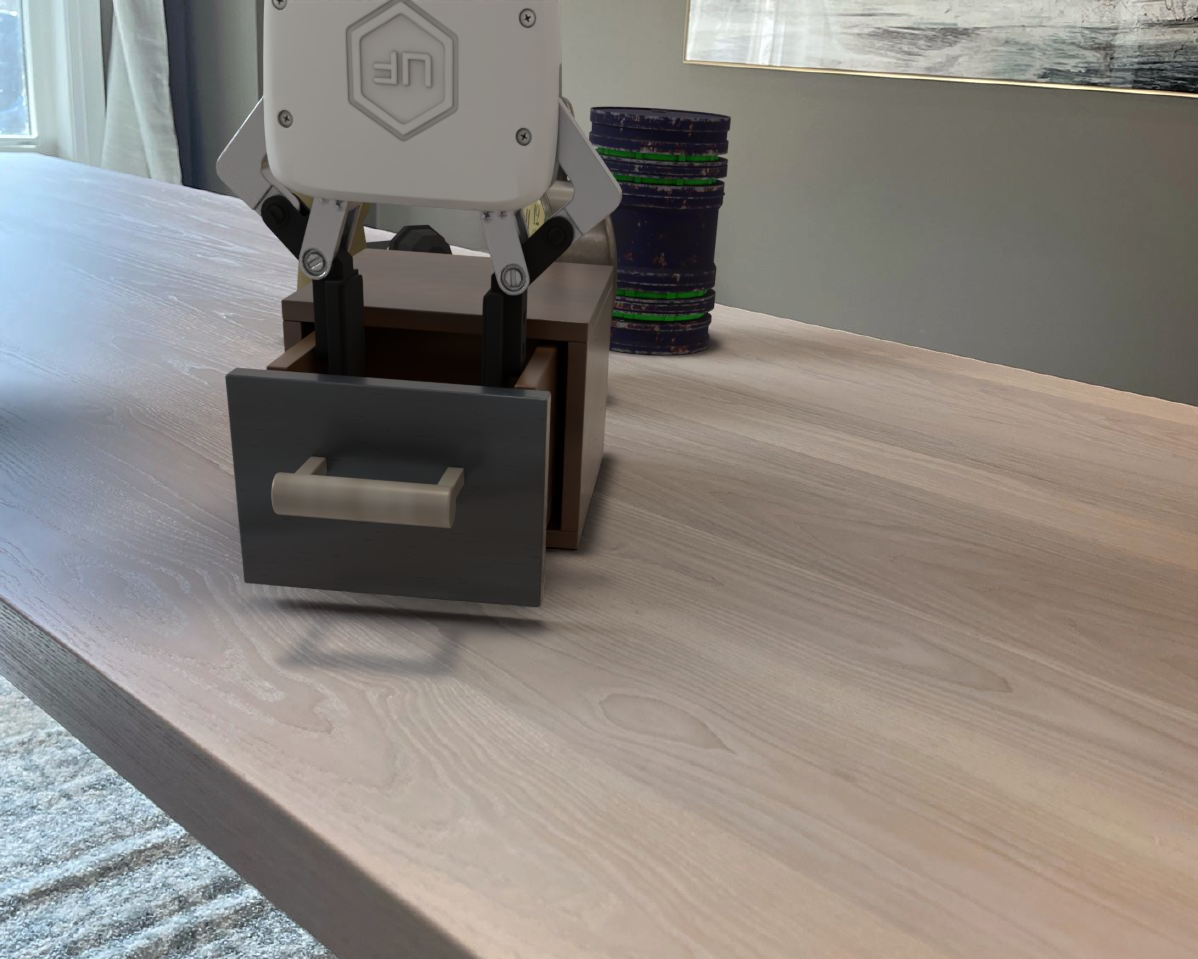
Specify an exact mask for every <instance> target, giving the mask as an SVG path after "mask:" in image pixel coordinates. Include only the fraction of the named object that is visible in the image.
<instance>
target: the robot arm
mask: <svg viewBox="0 0 1198 959" xmlns="http://www.w3.org/2000/svg"><path fill="white" fill-rule="evenodd" d="M263 3H264V4H263V40H262V41H263V42H262V46H263V47H262V49H263V50H262V52H263V53H262V58H263V59H262V60H263V62H262V63H263V64H262V65H263V67H262V68H263V71H262V73H263V74H262V75H263V78H262V79H263V81H262V82H263V86H262V87H263V89H262V90H263V92H262V93H263V95H262V97H261V98H260V99H259V100H258V102H257V103H256V104H255V106H254V108H253V109H252V110H251V112H250V113H249V115H248V116H247V118H246V119H245V120H244V121H243V123H242V124H241V126H240V127H239V128H238V130H237V132H235V134H234V135H233V137H232V138H231V140H230V141H229V142H228V144H227V145H226V146H225V148H224V149H223V151H222V152H221V153H220V155H219V156H218V157H217V159H216V162H215V172H216V175H217V177H218V178H219V179H220V181H221V182H223V183H224V185H225V186H227V187H228V188H229V189H230V190H231V192H233V193H234V194H235V195H236V196H237V197H238V198H239V199H240V200H241V201H242V202H243V203H244V204H246V206H247V207H248V208H250V209H251V210H252V211H254V212H255V213H256V214H258V215H259V216H260V217H261V220H262V222H263V224H264V225H265V226H266V227H267V228H268V230H270V232H271V233H272V234H273V235H274V237H276V238H277V239H278V240H279V241H280V243H281V244H282V245H283V246H284V247H285V248H286V249H287V250H288V251H289V252H290V253H291V255H293V256H294V258H295V259H296V260H297V262H298V263H299V265H300V268H301V270H302V272H303V273H304V274H305V275H306V276H307V277H309V278H310V279H312V287H313V306H314V325H315V344H316V354H317V358H318V360H319V361H328V362H329V375H341V376H354V377H361V376H362V375H363V374H364V373H365V369H366V354H365V324H364V295H363V277H362V275H360V274H359V272H358V269H353V257H352V256H351V254H350V253H349V252H350V248H351V245H352V241H353V237H354V234H355V230H356V226H357V223H358V219H359V215H360V211H361V208H362V204H363V202H368V203H371V204H380V205H382V204H383V205H394V206H407V207H419V208H420V207H421V208H432V209H448V210H460V211H473V212H475V211H477V215H478V219H479V222H480V225H481V228H482V233H483V235H484V240H485V243H486V247H487V250H488V253H489V257H491V261H492V264H493V268H494V271H495V272H494V273H493V274H492V275H491V288H490V289H489V291H488V292H487V293H486V294H485V295H484V297H483V310H482V381H481V386H485V387H499V388H509V384H510V376H512V377H520V376H521V374H522V372H523V371H524V369H525V357H526V326H527V294H528V286H529V285H530V284H532V283H533V282H534V281H535V280H536V279H537V278H538V277H539V276H540V275H541V274H542V273H543V272H544V271H545V270H546V269H547V268H548V267H549V266H550V265H551V264H552V263H554V262H555V261H556V260H557V259H558V258H559V257H560V256H561V255H562V254H563V253H564V252H565V251H566V250H567V249H568V248H569V247H570V246H571V245H572V244H574V243H575V242H576V241H577V240H579V239H580V238H581V237H582V236H584V235H585V234H586V233H587V232H589V231H590V230H591V229H592V228H594V227H595V226H596V225H597V224H599V223H600V222H601V221H602V220H603V219H605V218H606V217H607V216H608V215H610V214H611V213H612V212H613V211H614V210H615V209H616V208H617V207H618V206H619V204H620V202H621V199H622V190H621V187H620V185H619V184H618V182H617V181H616V179H615V178H614V176H613V175H612V173H611V172H610V170H609V169H608V167H607V166H606V164H605V163H604V161H603V160H602V159H601V157H600V156H599V154H598V153H597V151H596V150H595V149H596V148H595V146H593V145H592V144H591V142H590V141H589V137H588V136H587V134H586V133H585V131H584V130H583V129H582V127H581V125H580V124H579V122H577V119H576V117H575V118H574V117H573V115H572V114H571V112H570V111H569V110H568V108H567V107H566V105H565V104H564V102H563V101H562V96H563V59H562V58H563V57H562V56H563V55H562V53H563V52H562V49H563V48H562V46H563V45H562V9H561V8H562V7H561V0H263ZM559 164H560V166H561V167H562V169H563V170H564V172H565V173H566V175H567V179H568V180H571V182H572V184H573V187H574V194H573V198H572V199H571V200H570V201H569V202H568V203H567V204H565V205H564V206H563V207H562V208H561V209H559V210H558V211H557V212H556V213H555V214H553V215H552V216H551V217H550V218H549V219H548V220H547V221H546V222H545V223H544V224H542V225H541V226H540V227H539V228H538V229H537V230H536V231H535V232H534V233H533V234H532V235H531V236H530V234H529V230H528V226H527V222H526V219H525V215H524V211H523V208H524V207H526V206H529V205H531V204H533V203H534V202H536V201H537V200H539V199H540V198H541V197H542V195H543V194H544V193H545V192H547V191H548V189H549V188H550V187H552V185H553V184H554V182H555V180H556V177H557V173H558V168H559ZM291 190H293V191H295V192H297V193H300V194H303V195H307V196H311V197H314V200H313V204H312V208H311V210H310V209H309V208H308V207H307V205H306V204H305V203H304V202H303V201H302V200H301V199H300V198H299V197H298V196H297V195H296V194H294V193H292V192H291Z"/></svg>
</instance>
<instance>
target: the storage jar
mask: <svg viewBox="0 0 1198 959" xmlns="http://www.w3.org/2000/svg"><path fill="white" fill-rule="evenodd" d="M589 110H590V111H589V121H590V123H591V129H590V130H591V131H589V133H588V139H589V141H590V142H591V144H592V145H593V147H594V148H595V147H596V148H595V150H596V151H597V153H598V154H599V156H600V157H601V159H602V160H603V161H604V163H605V164H606V166H607V167H608V169H609V170H610V172H611V173H612V175H613V176H614V178H615V179H616V181H617V182H618V184H619V185H620V187H621V190H622V199H621V202H620V204H619V206H618V207H617V208H616V209H615V210H614V211H613V212H612V213H611V214H610V217H611V220H612V224H613V229H614V234H615V241H616V251H617V292H616V297H615V304H614V310H613V315H612V320H611V327H610V345H609V351H615V352H621V353H628V354H639V355H653V356H654V355H655V356H657V355H658V356H660V355H663V356H664V355H665V356H667V355H668V356H671V355H672V356H673V355H686V354H693V353H698V352H701V351H704V350H706V349H708V348H709V347H710V341H711V336H710V333H709V330H710V328H709V327H710V325H711V323H712V319H713V316H712V314H711V313H710V312H712V311H714V309H715V303H716V290H715V289H713V288H714V287H715V286H716V277H717V265H716V263H715V256H716V244H717V234H718V224H719V214H720V213H719V211H720V209H721V207H722V206H723V205H724V196H725V195H726V192H725V181H723V180H721V179H724V178H727V176H728V168H729V159H728V158H726V157H723V156H722V155H727V154H728V153H729V145H730V144H729V143H730V142H729V140H728V132H729V131H730V130H731V123H732V122H731V121H732V116H731V115H726V114H720V113H713V112H706V111H697V110H696V111H695V110H687V109H685V110H683V109H674V108H672V109H671V108H659V107H639V106H613V105H611V106H610V105H609V106H606V105H605V106H591V107H590V109H589Z"/></svg>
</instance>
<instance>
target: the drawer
mask: <svg viewBox="0 0 1198 959" xmlns="http://www.w3.org/2000/svg"><path fill="white" fill-rule="evenodd" d="M565 353H566V341H556V340H542V339H529V338H526V357H525V369H524V371H523V372H522V374H521V376H520V377H512V376H510V384H509V388H499V387H485V386H481V381H482V335H475V334H462V333H448V332H435V331H421V330H408V329H394V328H381V327H367V326H365V354H366V369H365V373H364V374H363V375H362V376H361V377H354V376H341V375H329V362H328V361H319V360H318V358H317V354H316V344H315V331H313V332H312V333H311V334H309V335H308V336H307V337H305V338H304V339H303V340H301V341H300V342H298V343H297V344H296V345H294V346H293V347H292V348H290V349H289V350H288V351H286V352H285V351H284V353H282V354H281V355H280V356H278V357H276V358H275V359H274V360H273V361H271V362H270V363H269V364H267V365H266V368H265V369H259V368H248V367H235V368H234V369H232V370H231V371H229V372H227V373H226V374H225V375H224V379H225V390H226V401H227V411H228V422H229V432H230V443H231V454H232V455H231V456H232V466H233V475H234V488H235V497H236V498H235V499H236V507H237V509H236V510H237V519H238V529H239V530H238V531H239V541H240V552H241V563H242V571H243V572H242V573H243V582H244V583H245V584H251V585H261V586H275V587H286V588H287V587H288V588H297V589H298V588H299V589H311V590H322V591H337V592H346V593H347V592H349V593H359V594H372V595H382V596H384V595H385V596H396V597H407V598H419V599H431V600H443V601H444V600H445V601H453V602H454V601H457V602H468V603H479V604H480V603H481V604H492V605H503V606H516V607H526V608H527V607H529V608H540V607H541V605H542V602H543V600H544V597H545V577H546V576H545V574H546V573H545V572H546V548H547V547H546V528H547V525H548V522H549V520H550V517H551V514H552V511H553V508H554V505H555V502H556V499H557V497H558V494H559V491H560V478H561V475H560V473H561V453H562V428H563V403H564V378H565Z"/></svg>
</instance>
